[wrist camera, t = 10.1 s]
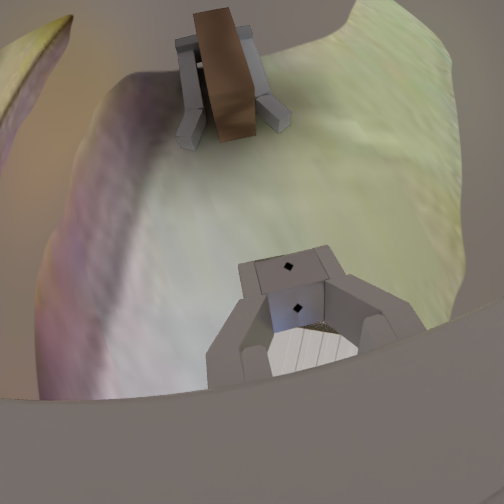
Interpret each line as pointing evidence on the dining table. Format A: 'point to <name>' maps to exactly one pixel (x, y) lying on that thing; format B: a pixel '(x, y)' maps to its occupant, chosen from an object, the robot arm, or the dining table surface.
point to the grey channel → (192, 93)
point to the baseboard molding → (306, 350)
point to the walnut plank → (226, 75)
